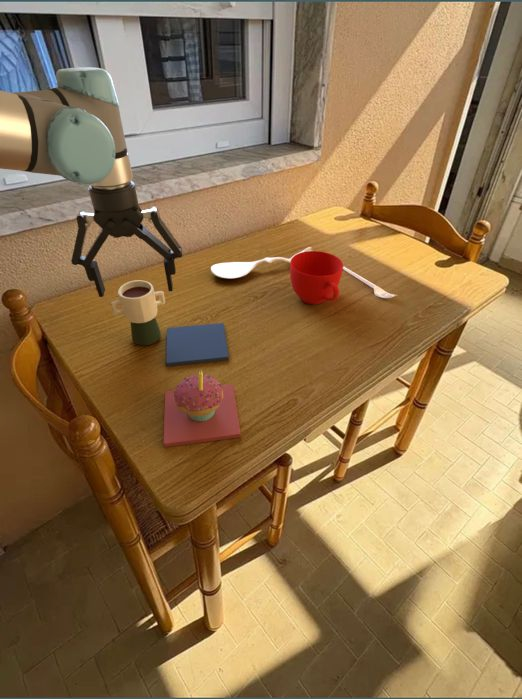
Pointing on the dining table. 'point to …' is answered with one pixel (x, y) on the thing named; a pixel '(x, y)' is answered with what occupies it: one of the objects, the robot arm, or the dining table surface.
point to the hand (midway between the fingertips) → (136, 290)
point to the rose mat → (201, 422)
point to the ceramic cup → (315, 276)
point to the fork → (377, 290)
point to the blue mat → (196, 344)
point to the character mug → (140, 310)
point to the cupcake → (198, 396)
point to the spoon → (244, 266)
